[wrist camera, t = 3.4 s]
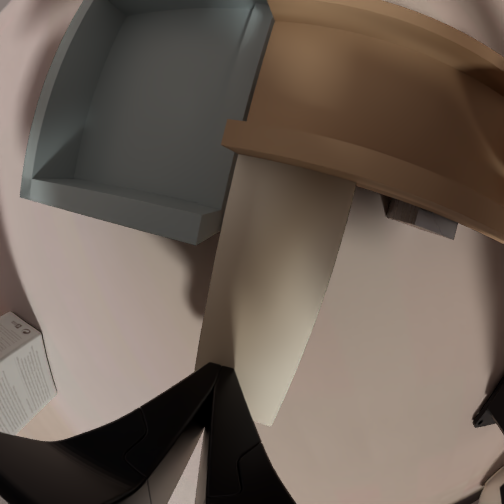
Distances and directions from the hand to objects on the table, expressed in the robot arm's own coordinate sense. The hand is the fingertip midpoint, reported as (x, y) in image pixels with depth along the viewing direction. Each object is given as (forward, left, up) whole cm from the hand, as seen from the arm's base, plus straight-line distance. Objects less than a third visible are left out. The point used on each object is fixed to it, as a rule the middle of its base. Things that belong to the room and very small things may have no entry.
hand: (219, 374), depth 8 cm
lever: (-5, -5, 0) cm, 7 cm away
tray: (+5, -9, -3) cm, 11 cm away
